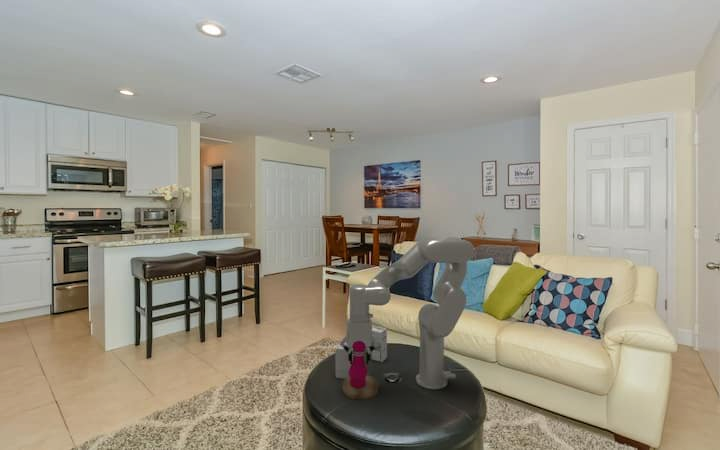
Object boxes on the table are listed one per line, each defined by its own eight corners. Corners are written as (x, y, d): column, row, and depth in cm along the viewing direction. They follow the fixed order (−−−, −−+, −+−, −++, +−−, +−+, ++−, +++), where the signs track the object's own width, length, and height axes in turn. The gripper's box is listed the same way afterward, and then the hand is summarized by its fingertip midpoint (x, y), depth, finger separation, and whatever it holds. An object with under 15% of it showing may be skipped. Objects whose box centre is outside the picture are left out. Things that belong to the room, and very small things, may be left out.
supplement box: (352, 379, 147) (352, 350, 146) (335, 378, 149) (334, 348, 148) (356, 371, 155) (355, 342, 154) (339, 369, 156) (339, 341, 155)
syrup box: (387, 358, 167) (387, 327, 166) (381, 363, 162) (381, 331, 161) (376, 355, 170) (376, 325, 169) (370, 360, 165) (370, 329, 164)
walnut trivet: (377, 379, 147) (377, 374, 147) (379, 399, 133) (379, 392, 133) (343, 380, 147) (342, 374, 146) (341, 399, 133) (341, 393, 133)
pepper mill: (344, 384, 138) (346, 334, 137) (355, 377, 144) (356, 328, 143) (360, 390, 134) (361, 338, 133) (370, 382, 140) (372, 333, 139)
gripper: (381, 313, 141) (380, 358, 143) (337, 313, 141) (337, 358, 142) (382, 320, 134) (382, 366, 135) (336, 320, 134) (336, 367, 135)
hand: (359, 361), depth 139 cm, fingers open, 5 cm apart
